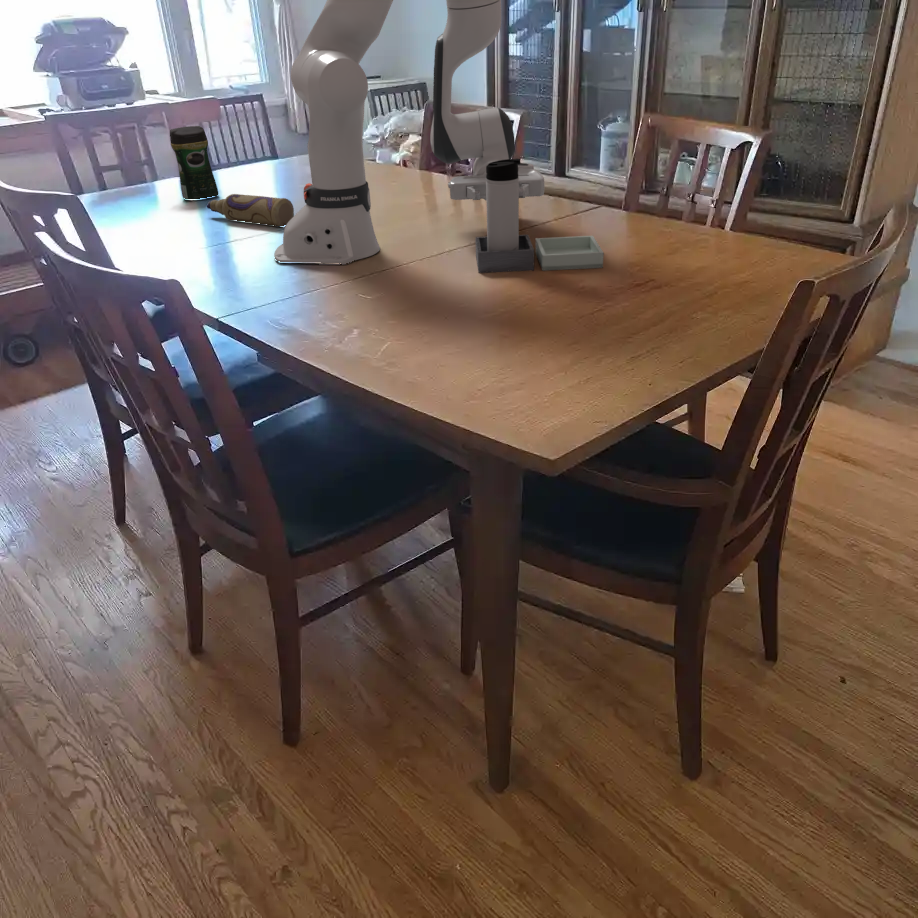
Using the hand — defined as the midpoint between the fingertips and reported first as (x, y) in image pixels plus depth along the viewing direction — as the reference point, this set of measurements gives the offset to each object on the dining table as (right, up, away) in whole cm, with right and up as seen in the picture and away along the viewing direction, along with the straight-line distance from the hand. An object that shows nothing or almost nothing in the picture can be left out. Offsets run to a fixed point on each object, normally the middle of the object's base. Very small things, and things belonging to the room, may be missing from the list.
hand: (499, 195), depth 164 cm
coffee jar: (-80, +18, +57) cm, 100 cm away
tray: (+14, -14, -3) cm, 20 cm away
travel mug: (+1, -15, -3) cm, 15 cm away
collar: (+1, -15, -3) cm, 15 cm away
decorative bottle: (-60, +4, +34) cm, 68 cm away
